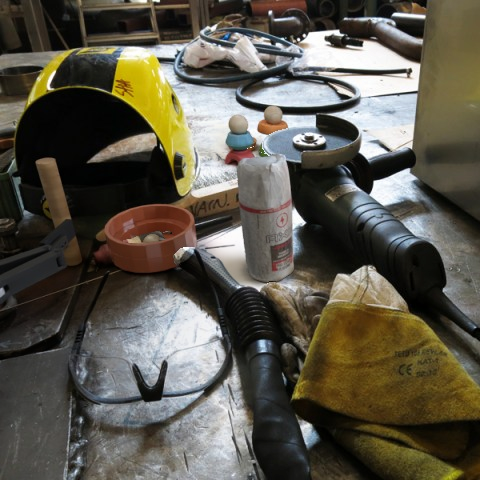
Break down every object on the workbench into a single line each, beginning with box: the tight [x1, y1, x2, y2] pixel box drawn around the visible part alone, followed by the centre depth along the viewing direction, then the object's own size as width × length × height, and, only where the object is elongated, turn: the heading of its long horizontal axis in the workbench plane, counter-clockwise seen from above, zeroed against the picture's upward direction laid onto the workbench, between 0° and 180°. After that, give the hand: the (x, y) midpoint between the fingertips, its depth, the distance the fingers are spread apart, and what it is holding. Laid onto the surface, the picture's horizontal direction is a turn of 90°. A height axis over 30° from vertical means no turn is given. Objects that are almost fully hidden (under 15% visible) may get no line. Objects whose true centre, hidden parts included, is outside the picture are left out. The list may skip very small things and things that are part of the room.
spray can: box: [236, 152, 295, 283], centre depth 75 cm, size 8×8×20 cm
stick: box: [35, 157, 83, 267], centre depth 76 cm, size 3×3×18 cm
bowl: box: [104, 203, 198, 274], centre depth 82 cm, size 14×14×6 cm
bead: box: [143, 234, 160, 243], centre depth 82 cm, size 3×3×3 cm
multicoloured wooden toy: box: [224, 105, 289, 165], centre depth 121 cm, size 18×17×12 cm
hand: (24, 224), depth 67 cm, fingers open, 13 cm apart
